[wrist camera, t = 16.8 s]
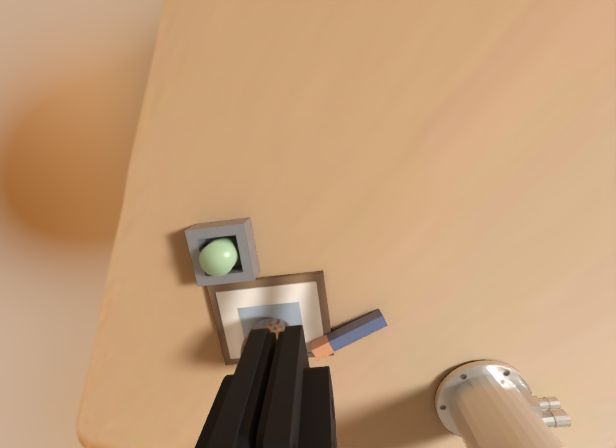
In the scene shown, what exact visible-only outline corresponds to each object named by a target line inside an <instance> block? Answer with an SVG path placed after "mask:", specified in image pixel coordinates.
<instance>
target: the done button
mask: <svg viewBox="0 0 616 448" xmlns="http://www.w3.org/2000/svg"><path fill="white" fill-rule="evenodd" d="M239 258H240V253H239V248H238V243H237V239H235V238H234V237H232V236H223V237H216V238H215V239H214V240H213V241H212V242H211V243H210V244H208V245H207V246H206V247H205V248H204V249H203V250H202V251H201V253H200V256H199V263H200V266H201V267H202V269H203V270H204V271H205V272H206V273H207V274H209V275H211V276H216V277H220V276H224V275H226V274H227V273H228V272H229V271H230V270H231V269H232V267H233V266H234V265H235V263H236V262H237V260H238V259H239Z"/></svg>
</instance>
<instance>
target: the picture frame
mask: <svg viewBox="0 0 616 448" xmlns="http://www.w3.org/2000/svg"><path fill="white" fill-rule="evenodd" d="M207 289H208V293H209V297H210V301H211V306H212V310H213V314H214V318H215V323H216V327H217V331H218V335H219V339H220V344H221V348H222V352H223V356H224V361H225V365H229V364H238V362H239V360H240V353H241V346H242V343H243V340H244V338H245V336H246V334H247V333H248V331H249V330H250V329H251V328H252V327H253V326H254V325H255V324H256V323H258V322H259V321H261V320H263V319H267V318H277V319H281V320H283V321H285V322H287V323H288V324H289V325H290V326H293V325H303V329H304V336H305V342H306V348H307V355H308V357H315V356H314V354H313V353H312V351H311V344H310V342H312V341H314V340H316V339H318V338H320V337H322V336H324V335H326V334H329V333H331V328H330V320H329V313H328V305H327V297H326V290H325V282H324V275H323V271H316V272H306V273H297V274H288V275H279V276H270V277H261V278H256V280H254V281H245V282H236V283H227V284H218V285H208V286H207ZM330 355H334V353H332V354H330ZM328 356H329V355H328Z"/></svg>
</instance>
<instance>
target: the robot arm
mask: <svg viewBox="0 0 616 448" xmlns="http://www.w3.org/2000/svg"><path fill="white" fill-rule="evenodd" d="M435 407H436V411H437V413H438V416H439V418H440V420H441V422H442V423H443V425H444V426H445V427H446V428H447V429H448V430H449V431H451V432H452V433H454V434H455V435H458V436H460V437H462V439H463V441H464V443H465V445H466V447H467V448H566V447H565V446H564V445H563V444H562V443H561V441H560V440H559V439H558V438H557V436H556V435H555V434H554V433H553V431H552V430H551V429H550V428H549V427H554V428H556V427H569V426H571V421H570V418H569V416H568V414H567V413H566V412H565V411H564V410H563V409H560V408H561V404H560V402H559V400H558V399H557V398H556V397H543V398H537V397H535V396H533V395H532V392H531V389H530V386H529V384H528V383H527V381H526V380H525V378H524V377H523V376H522V375H521V374H520V373H519V372H518V371H517V370H515V369H514V368H513V367H511V366H509V365H507V364H505V363H501V362H497V361H489V360H484V361H475V362H471V363H467V364H465V365H463V366H460V367H458V368H457V369H455V370H453V371H452V372H451V373H450V374H448V375H447V376H446V377H445V378H444V380H443V381H442V382H441V383H440V385H439V387H438V389H437V392H436V396H435ZM542 409H549V410H547V411H542ZM550 409H556V410H550ZM195 448H337V441H336V424H335V409H334V398H333V389H332V382H331V375H330V368H329V366H325V367H314V368H310V367H309V361H308V355H307V348H306V342H305V336H304V329H303V325H293V326H286V327H285V330H284V331H280V332H279V334H278V339H277V337H276V333H275V332H270V330H269V328H262V329H252V330H251V331H250V333H249V336H248V339H247V341H246V344H245V347H244V349H243V352H242V355H241V357H240V360H239V362H238V365H237V368H236V370H235V373H234V374H233V375H227V376H225V377H224V379H223V381H222V383H221V386H220V388H219V391H218V393H217V395H216V398H215V400H214V403H213V405H212V407H211V410H210V412H209V415H208V417H207V420H206V422H205V424H204V427H203V429H202V432H201V434H200V436H199V439H198V441H197V444H196V446H195Z"/></svg>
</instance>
